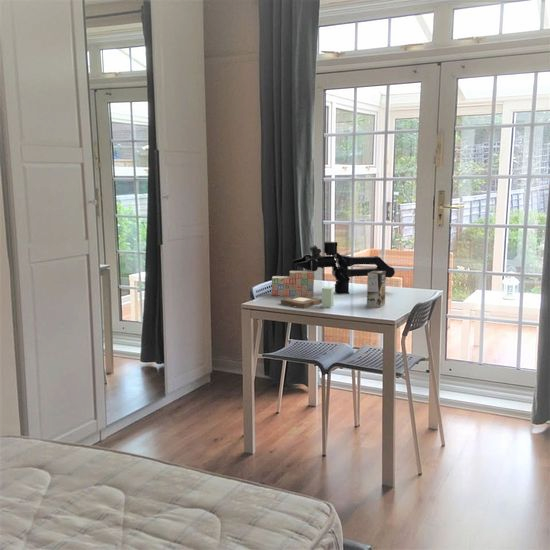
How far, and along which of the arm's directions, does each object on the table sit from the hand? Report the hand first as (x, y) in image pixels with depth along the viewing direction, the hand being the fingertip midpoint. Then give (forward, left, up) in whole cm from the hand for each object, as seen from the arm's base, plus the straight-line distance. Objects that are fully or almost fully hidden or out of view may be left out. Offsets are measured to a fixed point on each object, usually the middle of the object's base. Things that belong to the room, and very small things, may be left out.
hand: (294, 263), depth 313 cm
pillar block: (-10, +30, -17) cm, 36 cm away
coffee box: (-33, +32, -17) cm, 49 cm away
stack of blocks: (+1, 0, -17) cm, 17 cm away
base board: (+1, +22, -16) cm, 27 cm away
